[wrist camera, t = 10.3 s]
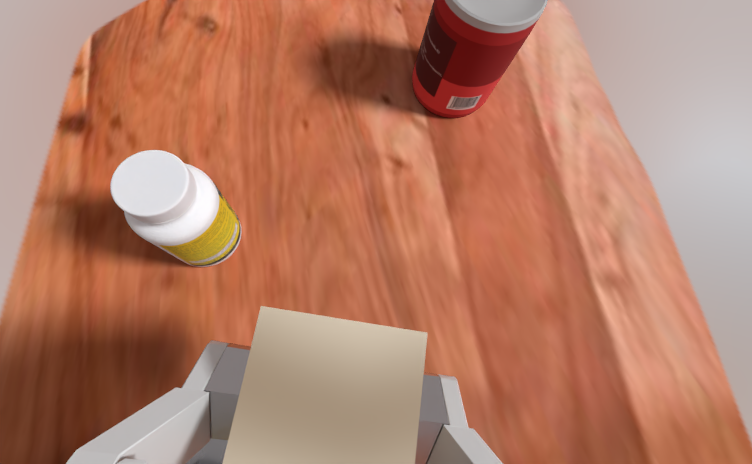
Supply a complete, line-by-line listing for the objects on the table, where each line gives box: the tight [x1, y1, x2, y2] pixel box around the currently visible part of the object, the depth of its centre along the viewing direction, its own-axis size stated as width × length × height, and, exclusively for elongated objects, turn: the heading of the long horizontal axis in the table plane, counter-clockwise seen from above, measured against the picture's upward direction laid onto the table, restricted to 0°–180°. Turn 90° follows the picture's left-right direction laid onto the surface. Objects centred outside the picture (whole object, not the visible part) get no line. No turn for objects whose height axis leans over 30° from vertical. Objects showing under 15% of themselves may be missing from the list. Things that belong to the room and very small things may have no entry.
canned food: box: [412, 0, 548, 118], centre depth 31 cm, size 8×8×11 cm
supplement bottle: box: [111, 150, 241, 267], centre depth 24 cm, size 5×5×10 cm
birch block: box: [222, 306, 427, 464], centre depth 12 cm, size 4×4×8 cm
